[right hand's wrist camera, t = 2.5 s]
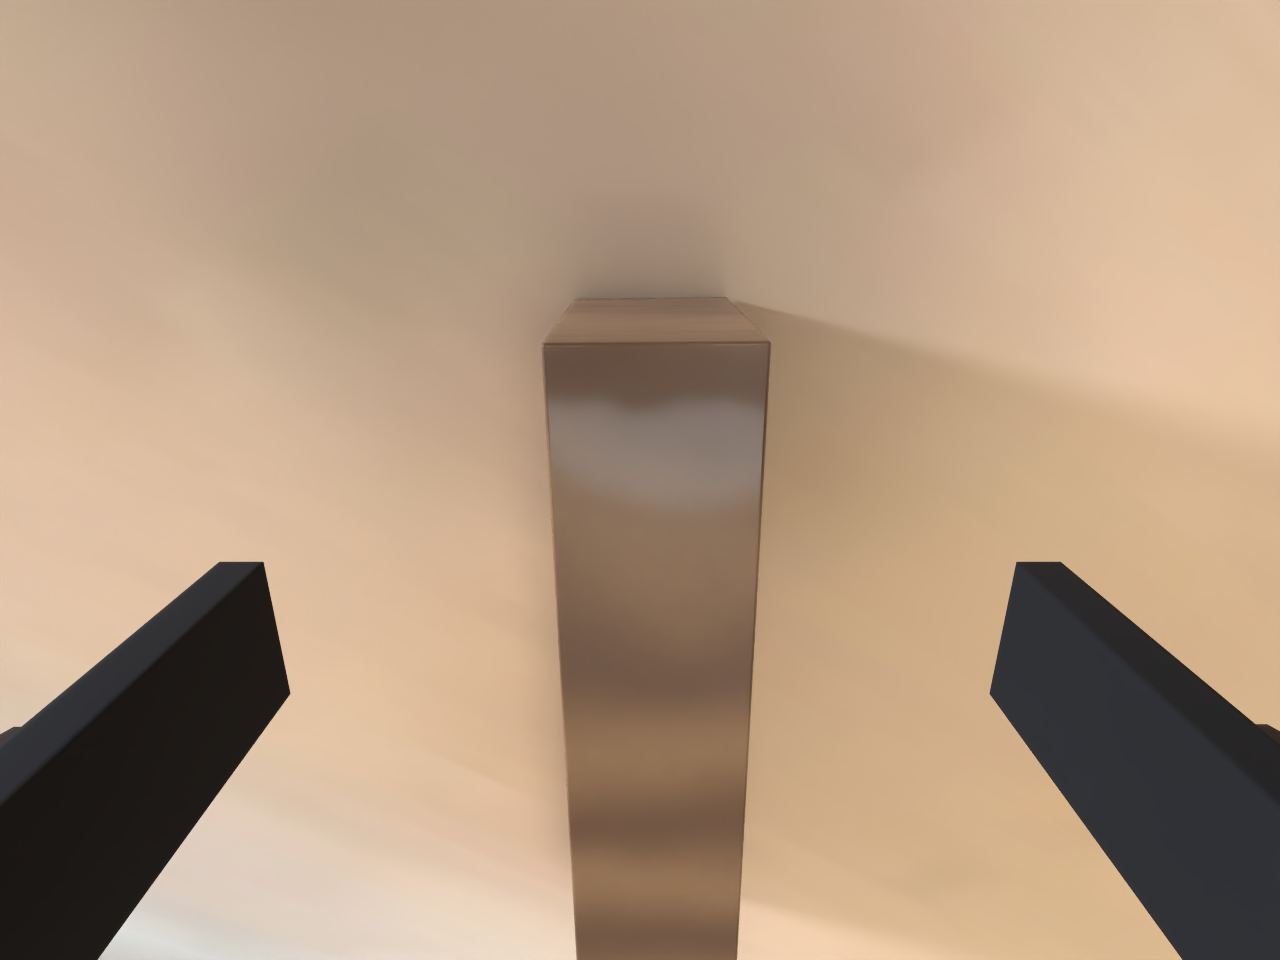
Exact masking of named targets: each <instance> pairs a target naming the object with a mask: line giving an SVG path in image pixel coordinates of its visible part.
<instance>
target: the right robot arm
mask: <svg viewBox="0 0 1280 960" xmlns="http://www.w3.org/2000/svg"><path fill="white" fill-rule="evenodd" d="M289 695H290V689H289V684H288V680H287V675H286V670H285V665H284V660H283V655H282V650H281V645H280V640H279V636H278V631H277V626H276V621H275V616H274V611H273V606H272V601H271V597H270V592H269V587H268V582H267V577H266V572H265V567H264V562H219V563H218V564H216V565H215V566H214V567H213V568H212V569H210V570H209V571H208V572H207V573H206V574H204V575H203V576H202V577H201V578H200V579H198V580H197V581H196V582H195V583H194V584H192V585H191V586H190V587H189V588H188V589H186V590H185V591H184V592H183V593H182V594H180V595H179V596H178V597H177V598H176V599H174V600H173V601H172V602H171V603H170V604H168V605H167V606H166V607H165V608H164V609H162V610H161V611H160V612H159V613H158V614H156V615H155V616H154V617H153V618H152V619H150V620H149V621H148V622H147V623H146V624H144V625H143V626H142V627H141V628H140V629H138V630H137V631H136V632H135V633H134V634H132V635H131V636H130V637H129V638H128V639H126V640H125V641H124V642H123V643H122V644H120V645H119V646H118V647H117V648H116V649H114V650H113V651H112V652H111V653H110V654H108V655H107V656H106V657H105V658H104V659H102V660H101V661H100V662H99V663H98V664H96V665H95V666H94V667H93V668H92V669H90V670H89V671H88V672H87V673H86V674H84V675H83V676H82V677H81V678H80V679H78V680H77V681H76V682H75V683H74V684H72V685H71V686H70V687H69V688H68V689H66V690H65V691H64V692H63V693H62V694H60V695H59V696H58V697H57V698H56V699H54V700H53V701H52V702H51V703H50V704H48V705H47V706H46V707H45V708H44V709H42V710H41V711H40V712H39V713H38V714H36V715H35V716H34V717H33V718H32V719H30V720H29V721H28V722H27V723H26V724H24V725H23V726H22V727H13V728H11V729H9V730H7V731H6V732H4V733H2V734H0V960H98V958H99V957H100V955H101V954H102V953H103V951H104V950H105V949H106V947H107V946H108V944H109V943H110V942H111V940H112V939H113V938H114V936H115V935H116V933H117V932H118V931H119V929H120V928H121V927H122V925H123V924H124V922H125V921H126V920H127V918H128V917H129V915H130V914H131V913H132V911H133V910H134V909H135V907H136V906H137V904H138V903H139V902H140V900H141V899H142V898H143V896H144V895H145V893H146V892H147V891H148V889H149V888H150V887H151V885H152V884H153V882H154V881H155V880H156V878H157V877H158V875H159V874H160V873H161V871H162V870H163V869H164V867H165V866H166V864H167V863H168V862H169V860H170V859H171V858H172V856H173V855H174V853H175V852H176V851H177V849H178V848H179V847H180V845H181V844H182V842H183V841H184V840H185V838H186V837H187V836H188V834H189V833H190V831H191V830H192V829H193V827H194V826H195V824H196V823H197V822H198V820H199V819H200V818H201V816H202V815H203V813H204V812H205V811H206V809H207V808H208V807H209V805H210V804H211V802H212V801H213V800H214V798H215V797H216V796H217V794H218V793H219V791H220V790H221V789H222V787H223V786H224V784H225V783H226V782H227V780H228V779H229V778H230V776H231V775H232V773H233V772H234V771H235V769H236V768H237V767H238V765H239V764H240V762H241V761H242V760H243V758H244V757H245V756H246V754H247V753H248V751H249V750H250V749H251V747H252V746H253V745H254V743H255V742H256V740H257V739H258V738H259V736H260V735H261V733H262V732H263V731H264V729H265V728H266V727H267V725H268V724H269V722H270V721H271V720H272V718H273V717H274V716H275V714H276V713H277V711H278V710H279V709H280V707H281V706H282V705H283V703H284V702H285V700H286V699H287V698H288V696H289ZM990 695H991V696H992V698H993V699H994V700H995V702H996V703H997V705H998V706H999V707H1000V709H1001V710H1002V711H1003V713H1004V714H1005V716H1006V717H1007V718H1008V720H1009V721H1010V722H1011V724H1012V725H1013V727H1014V728H1015V729H1016V731H1017V732H1018V733H1019V735H1020V736H1021V738H1022V739H1023V740H1024V742H1025V743H1026V745H1027V746H1028V747H1029V749H1030V750H1031V751H1032V753H1033V754H1034V756H1035V757H1036V758H1037V760H1038V761H1039V762H1040V764H1041V765H1042V767H1043V768H1044V769H1045V771H1046V772H1047V773H1048V775H1049V776H1050V778H1051V779H1052V780H1053V782H1054V783H1055V784H1056V786H1057V787H1058V789H1059V790H1060V791H1061V793H1062V794H1063V796H1064V797H1065V798H1066V800H1067V801H1068V802H1069V804H1070V805H1071V807H1072V808H1073V809H1074V811H1075V812H1076V813H1077V815H1078V816H1079V818H1080V819H1081V820H1082V822H1083V823H1084V824H1085V826H1086V827H1087V829H1088V830H1089V831H1090V833H1091V834H1092V836H1093V837H1094V838H1095V840H1096V841H1097V842H1098V844H1099V845H1100V847H1101V848H1102V849H1103V851H1104V852H1105V853H1106V855H1107V856H1108V858H1109V859H1110V860H1111V862H1112V863H1113V864H1114V866H1115V867H1116V869H1117V870H1118V871H1119V873H1120V874H1121V875H1122V877H1123V878H1124V880H1125V881H1126V882H1127V884H1128V885H1129V887H1130V888H1131V889H1132V891H1133V892H1134V893H1135V895H1136V896H1137V898H1138V899H1139V900H1140V902H1141V903H1142V904H1143V906H1144V907H1145V909H1146V910H1147V911H1148V913H1149V914H1150V915H1151V917H1152V918H1153V920H1154V921H1155V922H1156V924H1157V925H1158V927H1159V928H1160V929H1161V931H1162V932H1163V933H1164V935H1165V936H1166V938H1167V939H1168V940H1169V942H1170V943H1171V944H1172V946H1173V947H1174V949H1175V950H1176V951H1177V953H1178V954H1179V955H1180V957H1181V958H1182V960H1280V731H1278V730H1276V729H1275V728H1273V727H1271V726H1269V725H1267V724H1254V723H1253V722H1252V721H1251V720H1250V719H1248V718H1247V717H1246V716H1245V715H1244V714H1242V713H1241V712H1240V711H1239V710H1238V709H1236V708H1235V707H1234V706H1233V705H1232V704H1230V703H1229V702H1228V701H1227V700H1226V699H1224V698H1223V697H1222V696H1221V695H1220V694H1218V693H1217V692H1216V691H1215V690H1214V689H1212V688H1211V687H1210V686H1209V685H1208V684H1206V683H1205V682H1204V681H1203V680H1202V679H1200V678H1199V677H1198V676H1197V675H1196V674H1194V673H1193V672H1192V671H1191V670H1190V669H1188V668H1187V667H1186V666H1185V665H1184V664H1182V663H1181V662H1180V661H1179V660H1178V659H1176V658H1175V657H1174V656H1173V655H1172V654H1170V653H1169V652H1168V651H1167V650H1166V649H1164V648H1163V647H1162V646H1161V645H1160V644H1158V643H1157V642H1156V641H1155V640H1154V639H1152V638H1151V637H1150V636H1149V635H1148V634H1146V633H1145V632H1144V631H1143V630H1142V629H1140V628H1139V627H1138V626H1137V625H1136V624H1134V623H1133V622H1132V621H1131V620H1130V619H1128V618H1127V617H1126V616H1125V615H1124V614H1122V613H1121V612H1120V611H1119V610H1118V609H1116V608H1115V607H1114V606H1113V605H1112V604H1110V603H1109V602H1108V601H1107V600H1106V599H1104V598H1103V597H1102V596H1101V595H1100V594H1098V593H1097V592H1096V591H1095V590H1094V589H1092V588H1091V587H1090V586H1089V585H1088V584H1086V583H1085V582H1084V581H1083V580H1082V579H1080V578H1079V577H1078V576H1077V575H1076V574H1074V573H1073V572H1072V571H1071V570H1070V569H1068V568H1067V567H1066V566H1065V565H1064V564H1062V563H1061V562H1016V567H1015V572H1014V577H1013V582H1012V587H1011V592H1010V597H1009V601H1008V606H1007V611H1006V616H1005V621H1004V626H1003V631H1002V636H1001V640H1000V645H999V650H998V655H997V660H996V665H995V670H994V675H993V680H992V684H991V689H990Z"/></svg>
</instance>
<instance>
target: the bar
mask: <svg viewBox="0 0 1280 960" xmlns="http://www.w3.org/2000/svg"><path fill="white" fill-rule="evenodd" d="M770 351H771V343H770V341H769V340H768V339H767V338H766V337H765V336H764V335H763V334H762V333H761V332H760V331H759V330H758V329H757V328H756V327H755V326H754V325H753V324H752V323H751V322H750V321H749V320H748V319H747V318H746V317H745V316H744V315H743V314H742V312H741V311H740V310H739V309H738V308H737V307H736V306H735V305H734V304H733V303H732V302H731V301H730V300H729V299H728V298H639V299H575V300H574V301H573V302H572V304H571V305H570V306H569V308H568V309H567V310H566V312H565V313H564V315H563V316H562V317H561V319H560V320H559V322H558V323H557V324H556V326H555V327H554V328H553V330H552V331H551V333H550V334H549V335H548V337H547V338H546V339H545V341H544V342H543V344H542V363H543V381H544V398H545V416H546V433H547V451H548V468H549V486H550V503H551V520H552V538H553V555H554V573H555V590H556V608H557V625H558V643H559V660H560V677H561V695H562V712H563V730H564V747H565V765H566V782H567V800H568V817H569V834H570V852H571V869H572V887H573V904H574V922H575V939H576V957H577V960H737V948H738V930H739V912H740V893H741V875H742V857H743V839H744V821H745V803H746V785H747V767H748V749H749V731H750V713H751V695H752V677H753V659H754V641H755V622H756V604H757V586H758V568H759V550H760V532H761V514H762V496H763V478H764V460H765V442H766V424H767V406H768V388H769V369H770Z"/></svg>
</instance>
